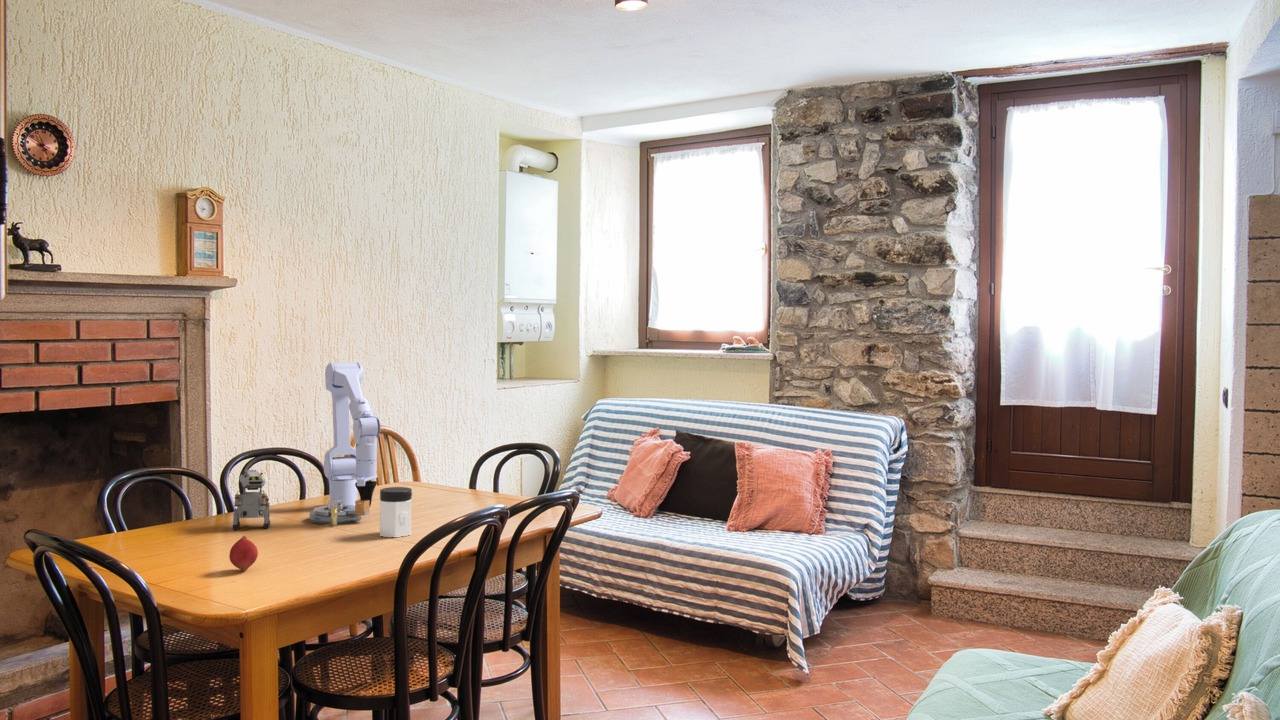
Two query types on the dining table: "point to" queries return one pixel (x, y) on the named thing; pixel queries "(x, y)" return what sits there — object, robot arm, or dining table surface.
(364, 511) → the grey handled ring
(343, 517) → the post base
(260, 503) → the figurine
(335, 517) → the dowel pin
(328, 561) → the dining table surface
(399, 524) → the jar
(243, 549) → the onion
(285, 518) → the dining table surface
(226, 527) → the dining table surface
